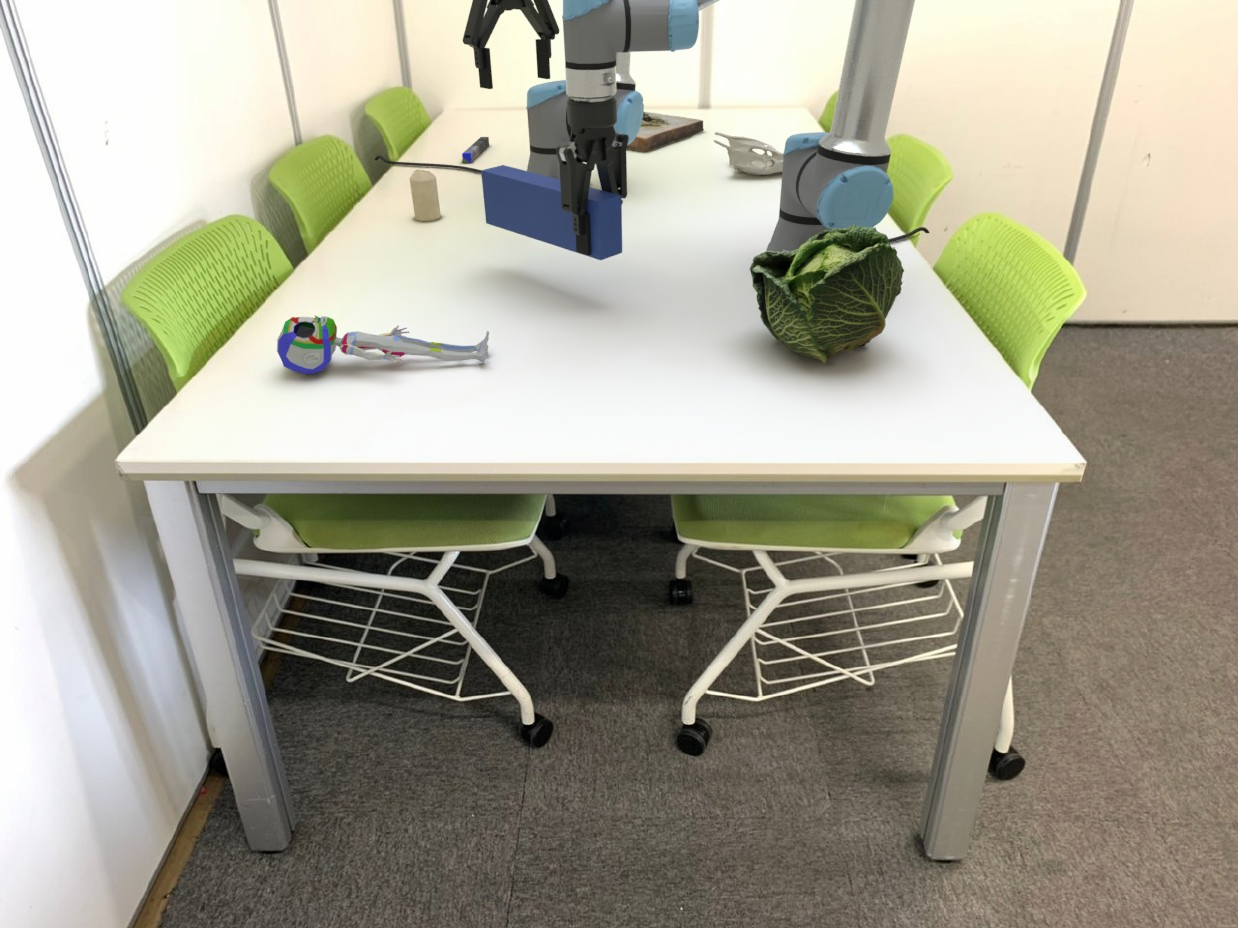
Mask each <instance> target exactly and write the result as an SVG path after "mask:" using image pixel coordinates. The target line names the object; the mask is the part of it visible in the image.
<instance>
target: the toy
mask: <svg viewBox="0 0 1238 928" xmlns="http://www.w3.org/2000/svg"><path fill="white" fill-rule="evenodd" d="M399 327H400V325H399V324H398V325H396V326H395V327H394V328H393V329H392V330H391V331H390V332H385V333H381V334H373V333H367V332H363V331H347V332H346V333H345V334H344V335H343V337H337V335H338V334H337V332H338V327H337V325H336V323H335V319H333V318H331V317H328V316H325V315H321V317H319V316H317V315H315V314H314V317H311V316H296V317H295V316H292V317H290V318H289V319H287V320H286V321H284V324H283V325H282V329H281V331H280V333H279V335H278V337H277V338H276V339H277V340H276V352H277V354H278V356H279V358H280V360H281V363H282V365H283V367H284V368H286V369H287V370H290V371H292V372H296V373H300V374H305V375H306V374H307V375H315V374H317V373H319V372H321V371H324V370H326V369H327V368H328V365H329V364H330V363H331V361H332V359H333V355H334V353H335V352H336V349H337V347H338V348H339V351H340V352H341V353H342V354H344V355H345V356H347V355H348V356H349V355H350V356H355V357H359V358H364V359H366V360H369V361H382V360H383V361H384V360H386V361H392V362H396V363H399V364H401V363H402V362H403V361H404V360H403V359H402V357H404V356H405V355H406V356H407V355H409V356H421V357H431V358H436V359H439V360H442V361H446V362H461V361H467V360H474V359H475V360H477V361H479V362H481V363H485V361H486V360H487V357H488V353H489V345H488V342H489V336H490V331H489V330H486V334H485V337H484V339H482V340H481V341H480V342H478V343H477V344H475V345H458V344H450V343H443V342H435V341H430V342H429V341H426V340H422V339H419V338H413V337H407V336H406V335H405V336H404V335H402V334H409V333H410V331H404V330H407V329H408V327H403V328H399ZM372 350H378V351H381V352H382V353H380V352H379V353H378V352H375V351H372Z"/></svg>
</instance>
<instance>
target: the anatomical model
mask: <svg viewBox="0 0 1238 928" xmlns="http://www.w3.org/2000/svg"><path fill="white" fill-rule="evenodd" d="M714 135H715V136H719V137H723V138H725V139H727V140H728V144H729V145H727V144H724V142H721V141H719V140H716V139H713V142H714V143H715V144H717V145H719V146H721V147H723V148H725V149H726V150H727V156H728V159H729V166H731V167H733V168H734V170H736V171H737V172H744V173H746V174H748V175H750V176H751V175H752V176H767V175H773V174H777V173H782V170H783V153H784V152H780V151H778V150H777V149H776V148H775V147H774V146H772V145H770V144H769V143H765V142H764V141H760V140H758V139H754V138H751V137H745V136H738V135H737V136H734V135H731V134H730V135H729V134H726V133H722V132H718V131H715V132H714ZM754 150H762V151H763V152H764V153H762V154H761V153H758V152H756V151H754ZM768 152H770V154H768Z"/></svg>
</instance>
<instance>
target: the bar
mask: <svg viewBox="0 0 1238 928" xmlns="http://www.w3.org/2000/svg"><path fill="white" fill-rule="evenodd" d="M480 170H481V173H480V174H481V184H482V185H481V186H482V194H483V195H482V196H483V204H484V205H483V206H484V215H485V224H487V225H490V226H492V227H496V228H499V229H503V230H505V231H509V232H511V233H515V234H518V235H521V236H524V237H527V238H531V239H534V240H537V241H540V242H542V243H546V244H549V245H553V246H555V247H558V248H561V249H563V250H568V251H570V252H573V253H577V254H580V255H583V256H585V257H589V258H591V259H595V260H597V261H602V260H606V259H609V258H611V257H612V258H613V257H614V256H617V255H620V254H622V253H623V222H622V221H623V214H622V211H623V209H622V205H623V203H622V202H621V200H622V199H621V195H618V194H614V193H610V192H606V191H602V189H598V188H593V187H589V194H588V201H587V208H586V213H587V214H590V230H591V255H585V254H581V253H578V252H576V234H574V232H573V219H572V214H571V213H569V212H565V211H562V209H561V188H560V180H559V179H556V178H552V177H548V176H544V175H540V174H536V173H532V172H528V171H527V170H524V169H521V168H520V169H519V168H517V167H512V166H508V165H506V164H505V165H504V164H501V165H497V166H494V167H490V168H489V167H488V168H485V169H480ZM578 206H579V205H578Z"/></svg>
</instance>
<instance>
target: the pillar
mask: <svg viewBox="0 0 1238 928" xmlns="http://www.w3.org/2000/svg"><path fill="white" fill-rule="evenodd" d="M489 138H490V137H489V136H480V137H479V138H478V139H477V140H476V141H474V143H472V144H471V145H470V146H468V147H467V149H466V150H465V151H463V152H462V153H461V157H462V158H461V159H462V163H465V164H466V163H472V162H473V161H474V160H475V159H476V158H478V157H479V156H480V155H481V154H482V153H483V152H484V151H485V150H486V149H487V148H488V147H489V146H490V139H489Z"/></svg>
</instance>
